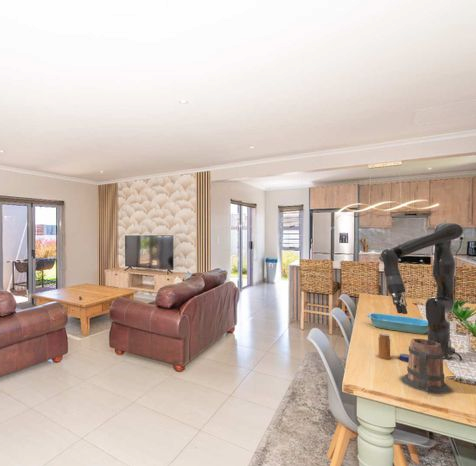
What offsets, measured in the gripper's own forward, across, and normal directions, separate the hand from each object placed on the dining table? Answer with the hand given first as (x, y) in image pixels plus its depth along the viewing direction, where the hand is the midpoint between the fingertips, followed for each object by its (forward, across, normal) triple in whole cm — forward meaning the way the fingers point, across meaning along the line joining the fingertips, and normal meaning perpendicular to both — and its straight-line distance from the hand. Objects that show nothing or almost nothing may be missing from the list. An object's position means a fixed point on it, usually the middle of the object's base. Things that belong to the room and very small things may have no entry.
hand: (402, 313), depth 181 cm
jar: (+23, -2, -14) cm, 27 cm away
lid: (+22, -7, -5) cm, 24 cm away
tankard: (+34, +23, +6) cm, 42 cm away
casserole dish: (+6, -71, -21) cm, 75 cm away
